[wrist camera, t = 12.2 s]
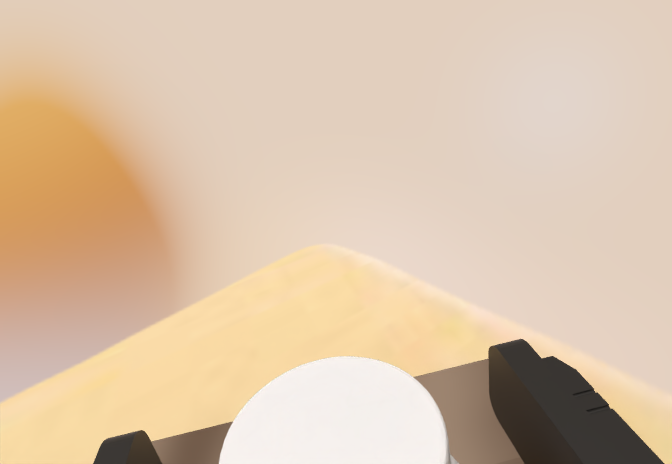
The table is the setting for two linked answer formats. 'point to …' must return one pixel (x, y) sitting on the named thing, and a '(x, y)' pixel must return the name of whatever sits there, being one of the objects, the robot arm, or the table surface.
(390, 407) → the supplement bottle
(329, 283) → the table surface
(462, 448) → the socket plate
